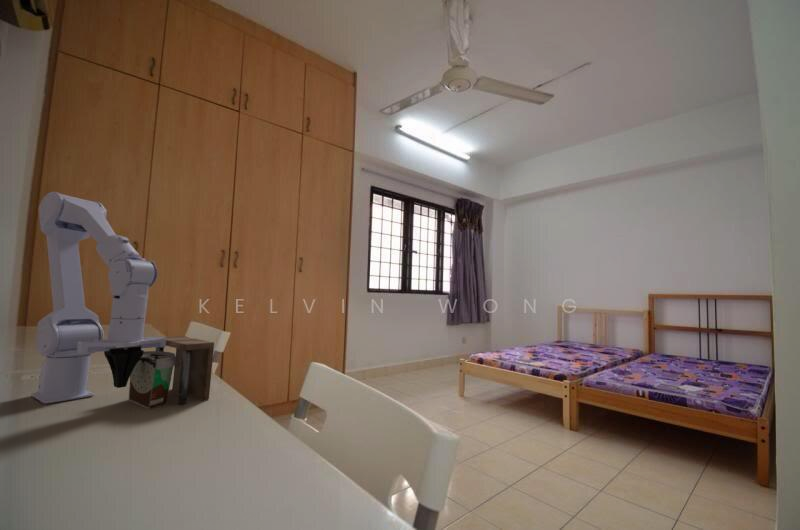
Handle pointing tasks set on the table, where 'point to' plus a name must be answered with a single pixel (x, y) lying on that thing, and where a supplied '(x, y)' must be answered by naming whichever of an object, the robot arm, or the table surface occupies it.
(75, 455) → the table surface
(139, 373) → the food container
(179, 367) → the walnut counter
